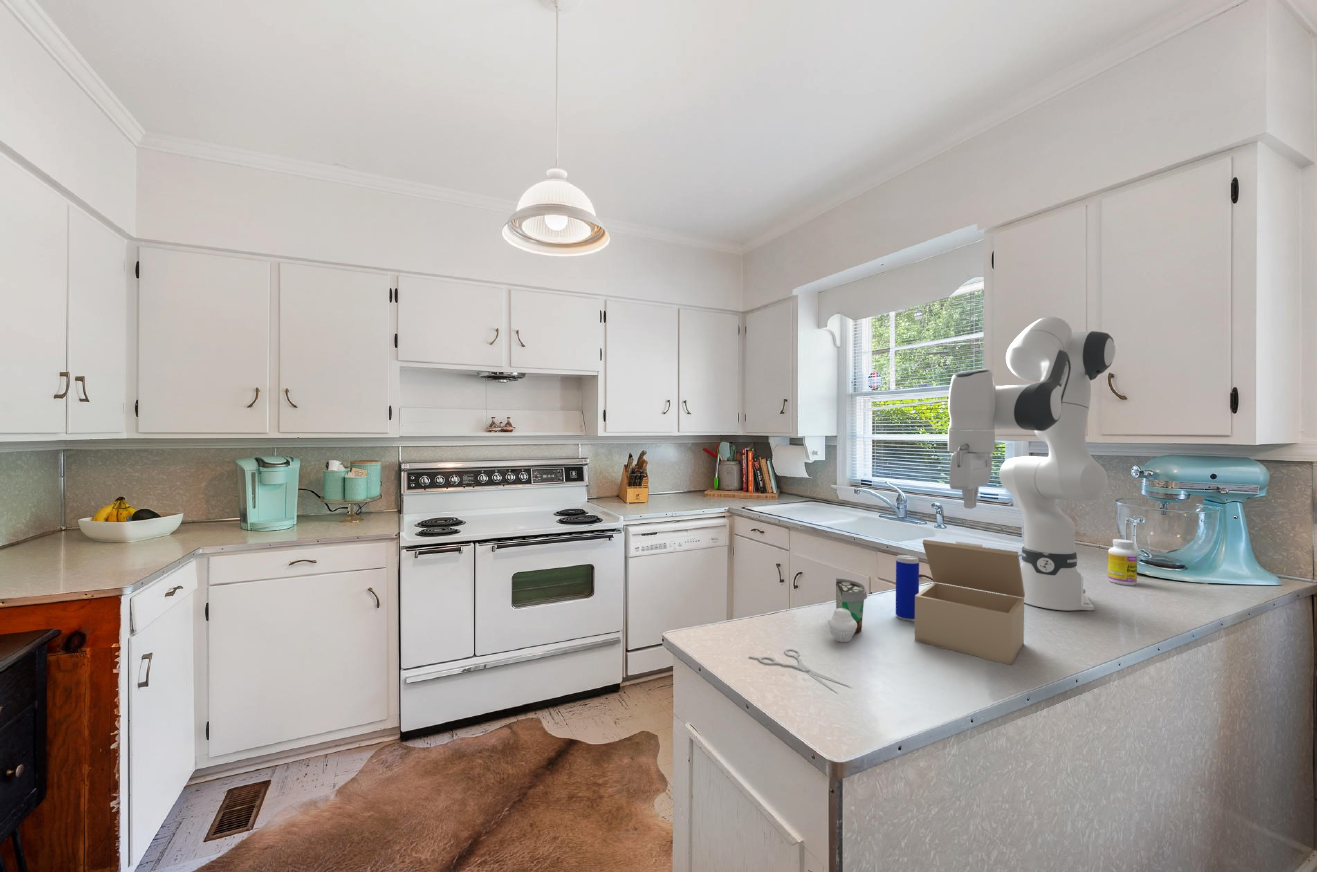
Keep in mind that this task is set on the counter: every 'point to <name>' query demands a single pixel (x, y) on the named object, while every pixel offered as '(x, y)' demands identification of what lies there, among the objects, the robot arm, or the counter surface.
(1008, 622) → the tan box
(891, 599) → the counter surface
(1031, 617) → the counter surface
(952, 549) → the lid
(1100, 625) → the counter surface
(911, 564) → the beverage can
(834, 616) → the muffin
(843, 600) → the food container
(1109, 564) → the supplement bottle
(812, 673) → the scissors
